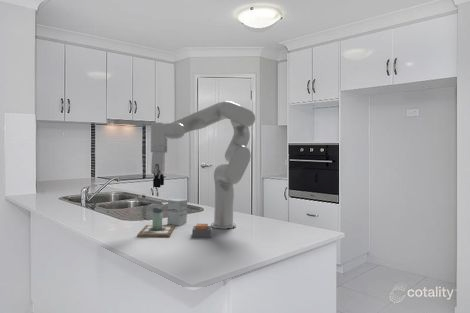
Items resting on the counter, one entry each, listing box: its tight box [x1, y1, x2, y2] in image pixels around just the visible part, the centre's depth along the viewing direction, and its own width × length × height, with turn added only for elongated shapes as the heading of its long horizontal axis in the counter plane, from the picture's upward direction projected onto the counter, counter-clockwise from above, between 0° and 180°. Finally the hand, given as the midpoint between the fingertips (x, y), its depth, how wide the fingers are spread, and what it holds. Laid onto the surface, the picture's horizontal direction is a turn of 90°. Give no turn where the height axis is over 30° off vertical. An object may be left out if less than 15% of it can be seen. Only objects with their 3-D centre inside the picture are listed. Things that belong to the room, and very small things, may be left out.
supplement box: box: [166, 198, 188, 227], centre depth 188 cm, size 7×7×13 cm
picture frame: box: [136, 224, 176, 238], centre depth 168 cm, size 20×14×1 cm
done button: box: [195, 223, 209, 229], centre depth 163 cm, size 5×5×3 cm
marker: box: [152, 206, 163, 230], centre depth 168 cm, size 4×4×10 cm
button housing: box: [191, 225, 212, 239], centre depth 163 cm, size 8×8×4 cm
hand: (158, 186), depth 168 cm, fingers open, 9 cm apart
